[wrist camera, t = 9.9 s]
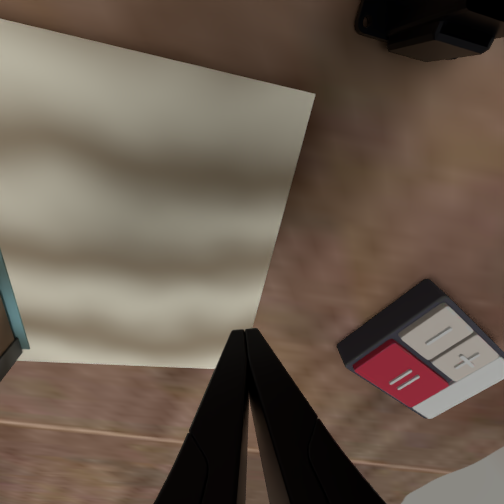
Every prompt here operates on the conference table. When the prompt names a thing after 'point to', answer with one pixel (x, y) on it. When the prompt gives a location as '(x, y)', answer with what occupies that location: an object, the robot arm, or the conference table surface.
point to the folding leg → (7, 344)
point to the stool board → (136, 199)
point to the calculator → (424, 352)
